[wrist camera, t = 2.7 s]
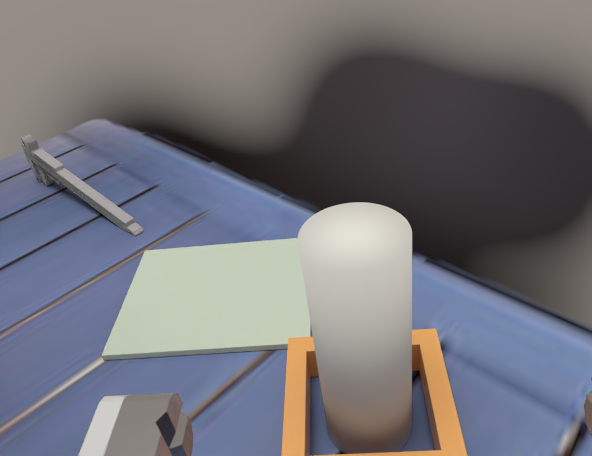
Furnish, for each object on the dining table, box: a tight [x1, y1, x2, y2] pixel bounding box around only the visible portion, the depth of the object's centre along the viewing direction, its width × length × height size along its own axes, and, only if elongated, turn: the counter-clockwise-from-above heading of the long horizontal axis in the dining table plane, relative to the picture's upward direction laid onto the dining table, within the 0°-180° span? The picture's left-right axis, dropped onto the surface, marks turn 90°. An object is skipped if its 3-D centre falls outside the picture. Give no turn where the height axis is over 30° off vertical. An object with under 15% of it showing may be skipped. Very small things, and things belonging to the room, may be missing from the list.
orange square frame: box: [282, 329, 467, 456], centre depth 31 cm, size 9×9×2 cm
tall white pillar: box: [298, 202, 412, 454], centre depth 27 cm, size 5×5×14 cm
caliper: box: [21, 135, 144, 236], centre depth 55 cm, size 20×1×6 cm, turn 49°
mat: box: [102, 238, 311, 360], centre depth 42 cm, size 15×12×1 cm
